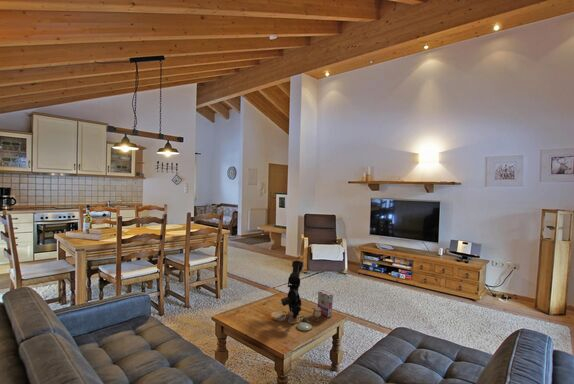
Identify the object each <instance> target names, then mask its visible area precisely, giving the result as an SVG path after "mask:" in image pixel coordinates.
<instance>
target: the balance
mask: <svg viewBox="0 0 574 384" xmlns="http://www.w3.org/2000/svg"><path fill="white" fill-rule="evenodd" d="M313 316H314V317H315V321H319V319H318V318H319V317H321V316H322V315H315V314H314V313H309V314H306V315H303V316H299V317H297V321H298V320H300V323H308V324H310V321H309V320H308V317H313ZM287 320H288V319H287ZM297 321H296V322H290V321H289V320H288V324H290V325H297Z"/></svg>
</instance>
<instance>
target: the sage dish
mask: <svg viewBox="0 0 574 384" xmlns="http://www.w3.org/2000/svg"><path fill="white" fill-rule="evenodd" d="M296 328H297V330H299V331H304V332H306V331H310V330H311V329H312V324H311V323H302V322H298V323H296Z"/></svg>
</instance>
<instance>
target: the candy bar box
mask: <svg viewBox="0 0 574 384" xmlns="http://www.w3.org/2000/svg"><path fill="white" fill-rule="evenodd" d="M333 297H334V295H333V294H332V293H330V292H328V291H326V290H323V289H322V290H318V291H317V307H320V309H321V316H323V317H326V318H330V317H332V316H333V301H334V300H333V299H334V298H333Z"/></svg>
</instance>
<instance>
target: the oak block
mask: <svg viewBox="0 0 574 384" xmlns="http://www.w3.org/2000/svg"><path fill="white" fill-rule="evenodd" d="M313 313H314V314H315V315H321V309H320V307H318V306H314V307H313ZM313 313H312V314H313ZM321 316H322V315H321Z"/></svg>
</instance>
